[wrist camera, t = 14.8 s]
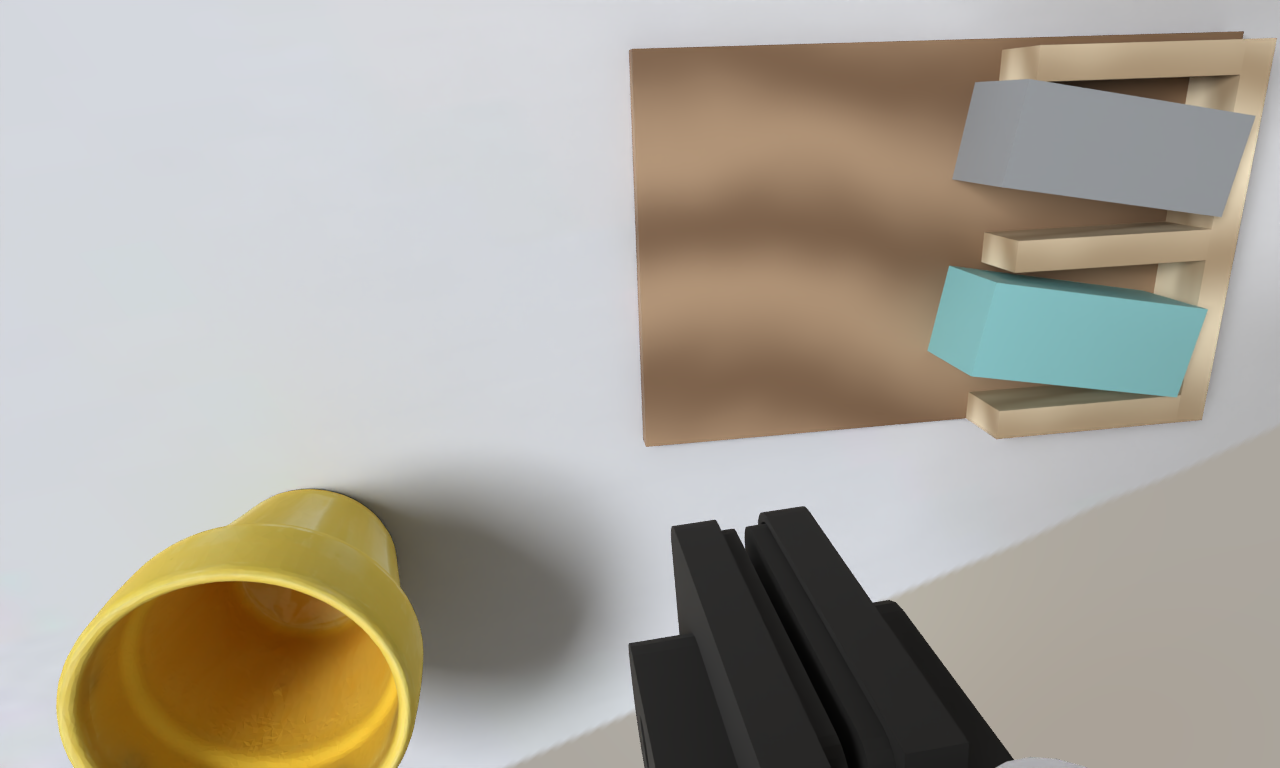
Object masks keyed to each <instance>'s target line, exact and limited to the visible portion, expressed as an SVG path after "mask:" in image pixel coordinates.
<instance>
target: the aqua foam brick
mask: <svg viewBox="0 0 1280 768" xmlns="http://www.w3.org/2000/svg"><path fill="white" fill-rule="evenodd" d="M1207 311H1208V309H1205V308H1202V307H1198V306H1195V305H1191V304H1188V303H1184V302H1181V301H1177V300H1174V299H1170V298H1167V297H1164V296H1160V295H1157V294H1153V293H1150V292H1146V291H1142V290H1135V289H1127V288H1119V287H1111V286H1104V285H1096V284H1088V283H1080V282H1073V281H1065V280H1057V279H1049V278H1042V277H1034V276H1026V275H1018V274H1010V273H1003V272H995V271H987V270H979V269H972V268H964V267H956V266H949V268H948V272H947V276H946V280H945V284H944V288H943V292H942V296H941V300H940V303H939V307H938V311H937V315H936V319H935V323H934V327H933V331H932V335H931V339H930V343H929V347H928V350H927V351H929V352H930V353H932V354H934V355H935V356H937V357H939V358H941V359H942V360H944V361H946V362H947V363H949V364H951V365H952V366H954V367H956V368H958V369H959V370H961V371H963V372H964V373H966V374H968V375H970V376H973V377H982V378H992V379H1002V380H1011V381H1021V382H1031V383H1041V384H1050V385H1060V386H1070V387H1079V388H1089V389H1099V390H1109V391H1118V392H1128V393H1138V394H1147V395H1157V396H1167V397H1177V396H1178V393H1179V390H1180V387H1181V384H1182V382H1183V379H1184V376H1185V373H1186V370H1187V367H1188V365H1189V362H1190V359H1191V356H1192V353H1193V351H1194V348H1195V345H1196V342H1197V339H1198V336H1199V334H1200V331H1201V328H1202V325H1203V322H1204V320H1205V317H1206V314H1207Z"/></svg>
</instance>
